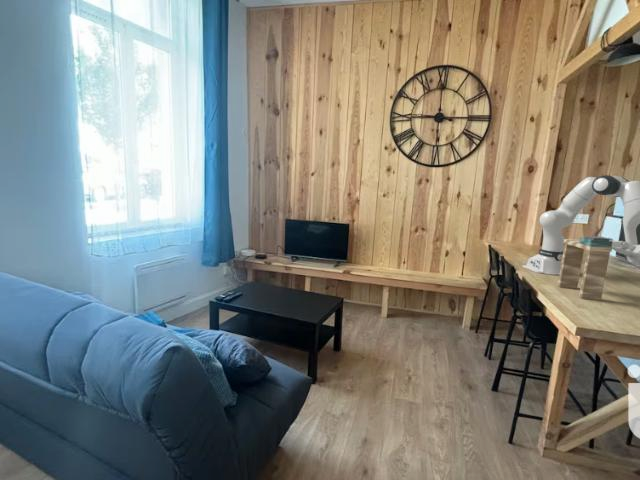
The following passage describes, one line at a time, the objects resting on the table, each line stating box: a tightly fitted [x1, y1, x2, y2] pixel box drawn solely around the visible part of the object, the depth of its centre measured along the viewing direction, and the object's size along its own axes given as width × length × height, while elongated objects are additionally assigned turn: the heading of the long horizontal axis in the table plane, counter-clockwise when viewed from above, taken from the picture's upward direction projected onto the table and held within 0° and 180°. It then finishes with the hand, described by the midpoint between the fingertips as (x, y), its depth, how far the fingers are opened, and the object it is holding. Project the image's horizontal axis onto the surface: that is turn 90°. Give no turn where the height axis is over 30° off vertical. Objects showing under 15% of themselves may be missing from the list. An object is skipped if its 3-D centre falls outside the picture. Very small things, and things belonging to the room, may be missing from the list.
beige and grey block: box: [586, 235, 625, 247], centre depth 171 cm, size 16×5×4 cm, turn 86°
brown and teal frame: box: [557, 236, 613, 301], centre depth 180 cm, size 20×10×29 cm, turn 176°
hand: (615, 240), depth 171 cm, fingers open, 8 cm apart
